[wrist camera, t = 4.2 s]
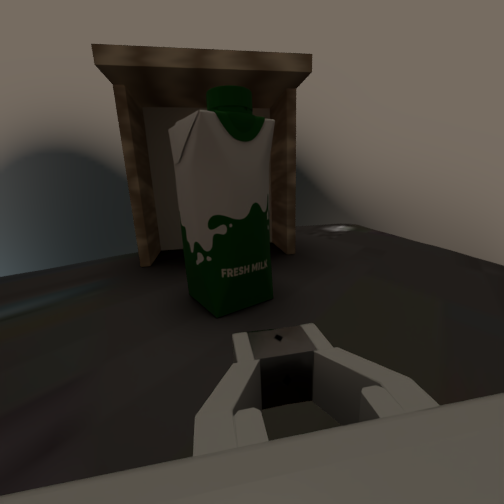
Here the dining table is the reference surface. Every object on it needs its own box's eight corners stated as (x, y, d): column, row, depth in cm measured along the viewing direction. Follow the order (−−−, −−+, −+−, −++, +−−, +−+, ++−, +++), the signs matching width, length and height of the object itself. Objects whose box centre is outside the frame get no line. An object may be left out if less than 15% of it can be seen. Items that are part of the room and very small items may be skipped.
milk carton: (212, 325, 23) (191, 73, 18) (178, 293, 31) (156, 106, 25) (285, 299, 28) (284, 93, 23) (241, 277, 35) (233, 116, 30)
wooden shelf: (130, 279, 36) (91, 43, 29) (154, 249, 53) (133, 96, 46) (308, 263, 40) (312, 54, 33) (277, 240, 57) (275, 99, 50)
